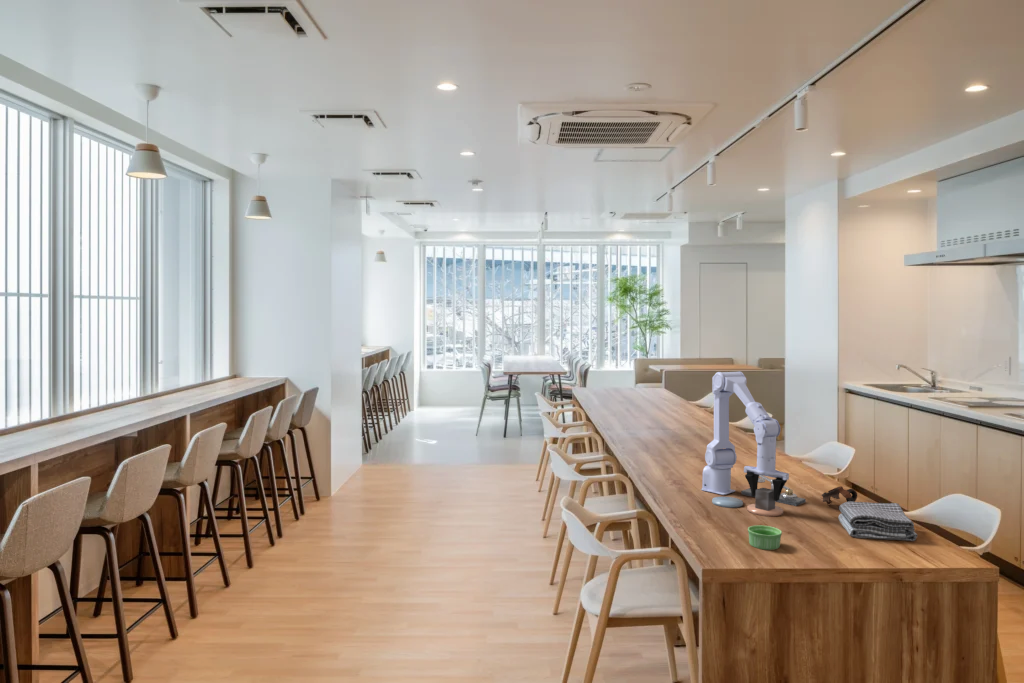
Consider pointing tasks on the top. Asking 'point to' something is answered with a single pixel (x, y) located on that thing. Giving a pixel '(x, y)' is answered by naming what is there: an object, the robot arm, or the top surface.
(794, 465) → the top surface
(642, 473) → the top surface
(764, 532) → the ramekin
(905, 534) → the towel
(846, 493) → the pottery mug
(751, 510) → the dish
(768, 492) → the block
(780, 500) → the balance
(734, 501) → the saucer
